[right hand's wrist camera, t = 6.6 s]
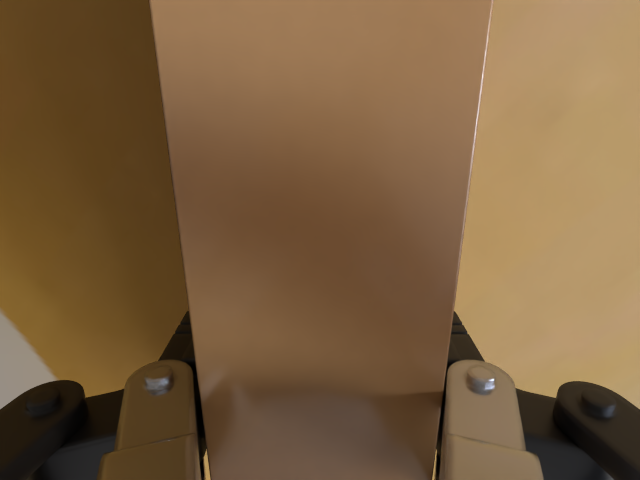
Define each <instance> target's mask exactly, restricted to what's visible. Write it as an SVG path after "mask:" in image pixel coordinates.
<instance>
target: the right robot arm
mask: <svg viewBox="0 0 640 480" xmlns="http://www.w3.org/2000/svg"><path fill="white" fill-rule="evenodd" d="M206 449H207V447H206V439H205V431H204V424H203V416H202V408H201V400H200V393H199V385H198V377H197V369H196V362H195V354H194V346H193V338H192V331H191V323H190V315H189V311H187V312H186V314H185V316H184V318H183V319H182V321H181V324H180V325H179V326H178V328H177V330H176V331H175V334H174V335H173V336H172V338H171V340H170V341H169V343H168V345H167V347H166V348H165V350H164V352H163V353H162V355H161V357H160V359H159V360H158V361H157V362H153V363H150V364H148V365H145V366H143V367H141V368H140V369H138V370H137V371H135V372H134V373H133V374H132V375H131V376H130V377H129V378H128V380H127V382H126V384H125V389H122V390H119V391H115V392H110V393H106V394H101V395H97V396H92V397H87V398H86V397H85V393H84V390H83V387H82V386H81V385H80V384H79V383H77V382H74V381H70V380H59V381H53V382H48V383H45V384H42V385H39V386H36V387H34V388H32V389H30V390H28V391H26V392H24V393H23V394H21V395H20V396H18V397H17V398H15V399H14V400H13V401H11V402H10V403H9V404H7V405H6V406H4V407H3V408H2V409H0V480H206V474H205V463H204V455H205V452H206ZM436 449H437V455H436V463H435V474H434V480H640V409H638V408H637V407H636V406H634V405H633V404H631V403H630V402H629V401H627V400H626V399H625V398H623V397H622V396H620V395H619V394H617V393H615V392H613V391H612V390H609V389H607V388H605V387H602V386H600V385H596V384H593V383H588V382H581V381H573V382H567V383H565V384H563V385H561V386H560V387H559V389H558V392H557V396H556V398H553V397H548V396H544V395H539V394H534V393H530V392H526V391H522V390H520V389H517V388H515V384H514V382H513V380H512V378H511V377H510V376H509V375H508V374H507V373H506V372H505V371H503V370H502V369H500V368H499V367H497V366H495V365H492V364H490V363H487V362H485V361H484V359H483V358H482V356H481V354H480V353H479V351H478V349H477V348H476V346H475V344H474V342H473V341H472V339H471V337H470V336H469V334H467V331H466V329H465V327H464V326H463V325H462V322H461V321H460V319H459V317H458V315H457V314H456V312H454V313H453V320H452V328H451V336H450V344H449V352H448V359H447V367H446V375H445V383H444V390H443V398H442V406H441V414H440V421H439V429H438V437H437V445H436Z"/></svg>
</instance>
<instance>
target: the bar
mask: <svg viewBox="0 0 640 480" xmlns="http://www.w3.org/2000/svg"><path fill="white" fill-rule="evenodd" d="M493 2H494V0H149V5H150V13H151V21H152V28H153V36H154V44H155V52H156V59H157V67H158V75H159V83H160V90H161V98H162V106H163V114H164V121H165V129H166V137H167V145H168V152H169V160H170V168H171V176H172V183H173V191H174V199H175V207H176V214H177V222H178V230H179V238H180V245H181V253H182V261H183V269H184V276H185V284H186V292H187V300H188V307H189V315H190V323H191V331H192V338H193V346H194V354H195V362H196V369H197V377H198V385H199V393H200V400H201V408H202V416H203V424H204V431H205V439H206V447H207V455H208V462H209V470H210V478H211V480H432V476H433V468H434V460H435V452H436V445H437V437H438V429H439V421H440V414H441V406H442V398H443V390H444V383H445V375H446V367H447V359H448V352H449V344H450V336H451V328H452V320H453V313H454V305H455V297H456V289H457V282H458V274H459V266H460V258H461V251H462V243H463V235H464V227H465V220H466V212H467V204H468V196H469V189H470V181H471V173H472V165H473V158H474V150H475V142H476V134H477V127H478V119H479V111H480V103H481V96H482V88H483V80H484V72H485V65H486V57H487V49H488V41H489V34H490V26H491V18H492V10H493Z"/></svg>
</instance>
